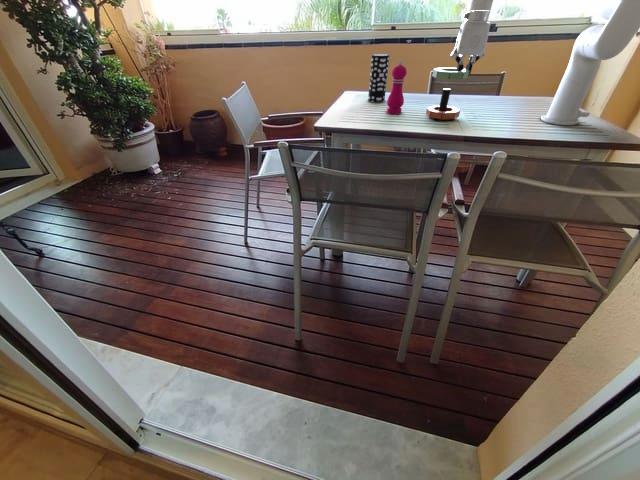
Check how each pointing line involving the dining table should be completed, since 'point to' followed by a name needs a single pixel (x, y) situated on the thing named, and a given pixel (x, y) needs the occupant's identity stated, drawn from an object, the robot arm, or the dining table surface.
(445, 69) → the ring green
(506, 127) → the dining table surface
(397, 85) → the pepper mill
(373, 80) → the white-spotted black cylinder
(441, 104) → the peg stand
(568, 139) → the dining table surface
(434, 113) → the ring terracotta
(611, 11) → the robot arm
